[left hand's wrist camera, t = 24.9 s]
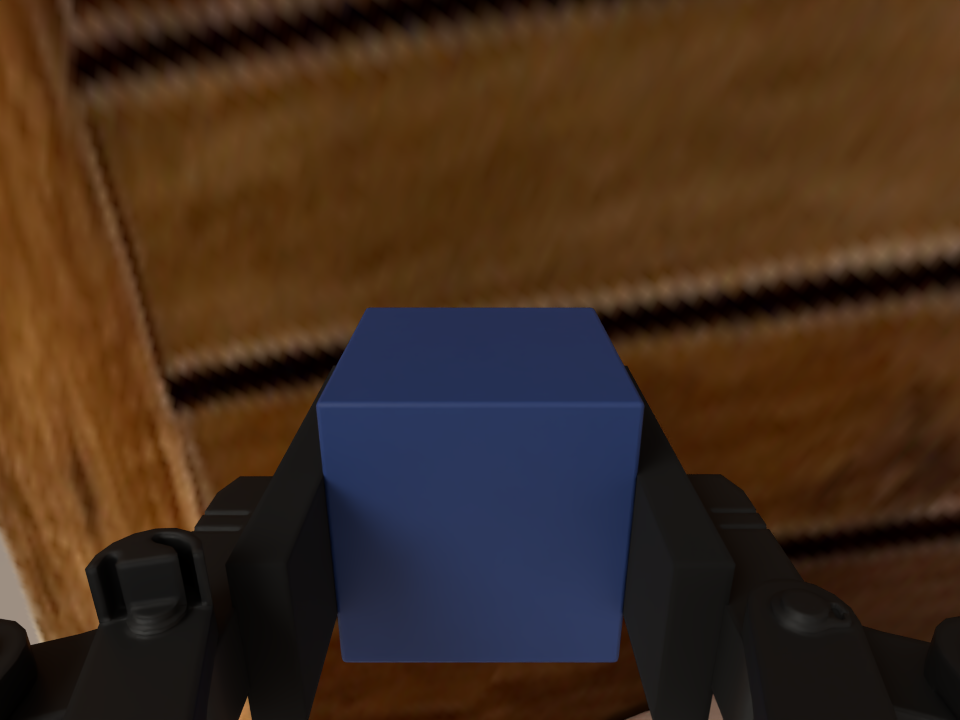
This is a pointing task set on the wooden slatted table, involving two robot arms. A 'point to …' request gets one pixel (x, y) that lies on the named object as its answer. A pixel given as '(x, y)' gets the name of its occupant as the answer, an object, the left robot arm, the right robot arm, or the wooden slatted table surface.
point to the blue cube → (480, 485)
